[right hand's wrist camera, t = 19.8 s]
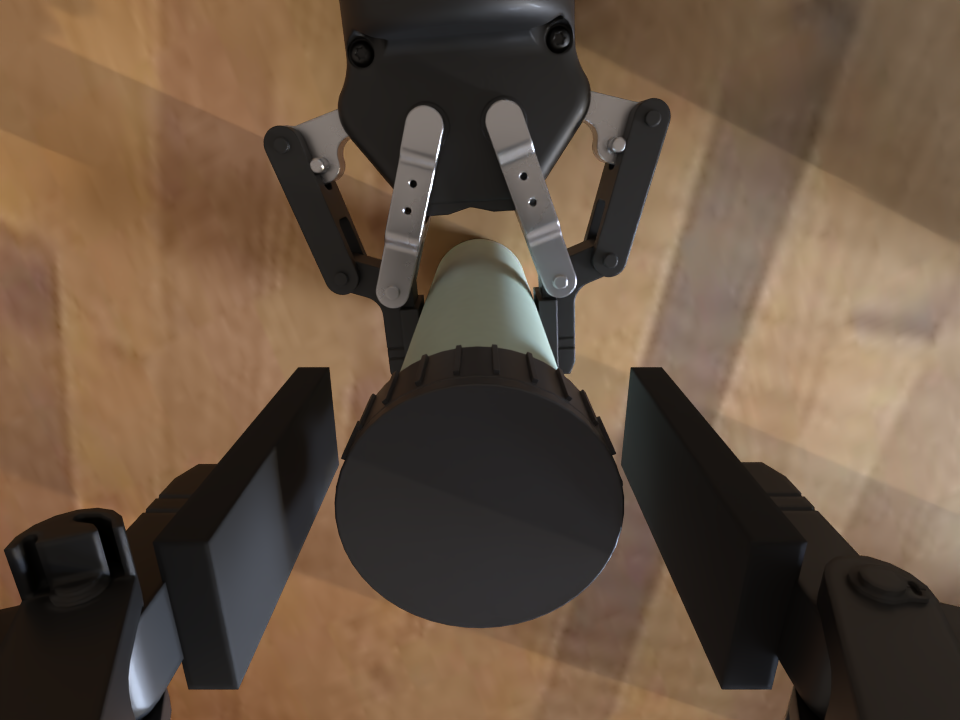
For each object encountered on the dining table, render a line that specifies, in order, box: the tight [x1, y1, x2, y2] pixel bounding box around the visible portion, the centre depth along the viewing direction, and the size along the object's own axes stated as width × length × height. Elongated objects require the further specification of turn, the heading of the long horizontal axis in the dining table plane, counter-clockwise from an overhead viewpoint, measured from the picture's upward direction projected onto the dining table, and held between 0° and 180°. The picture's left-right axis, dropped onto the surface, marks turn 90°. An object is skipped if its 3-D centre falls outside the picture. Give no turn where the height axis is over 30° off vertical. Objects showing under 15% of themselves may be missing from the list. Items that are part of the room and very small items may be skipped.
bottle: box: [401, 239, 558, 371], centre depth 20 cm, size 4×4×18 cm
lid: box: [335, 344, 624, 628], centre depth 11 cm, size 5×5×2 cm
